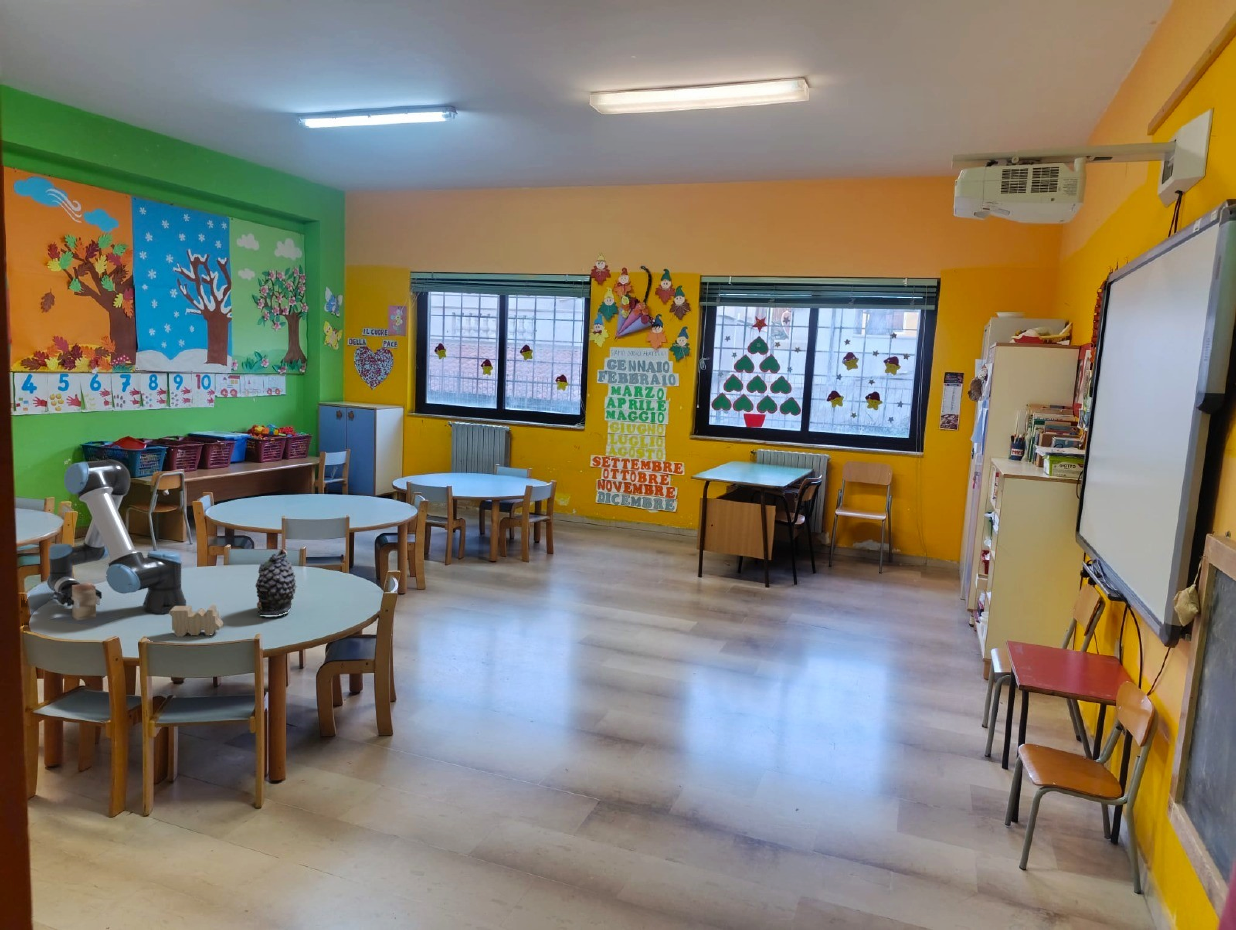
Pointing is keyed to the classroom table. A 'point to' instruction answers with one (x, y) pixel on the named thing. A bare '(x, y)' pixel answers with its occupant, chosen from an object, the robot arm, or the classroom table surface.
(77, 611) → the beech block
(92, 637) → the classroom table surface
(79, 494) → the robot arm
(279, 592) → the dark pine cone
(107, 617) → the slate mat
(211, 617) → the toy train
